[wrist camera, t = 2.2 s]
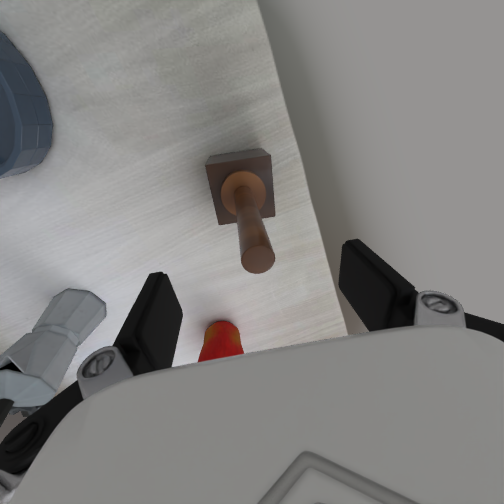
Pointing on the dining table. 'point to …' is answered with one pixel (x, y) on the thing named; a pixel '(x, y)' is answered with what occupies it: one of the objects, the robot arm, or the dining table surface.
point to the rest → (234, 161)
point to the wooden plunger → (249, 219)
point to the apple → (221, 342)
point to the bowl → (21, 114)
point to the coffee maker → (47, 352)
